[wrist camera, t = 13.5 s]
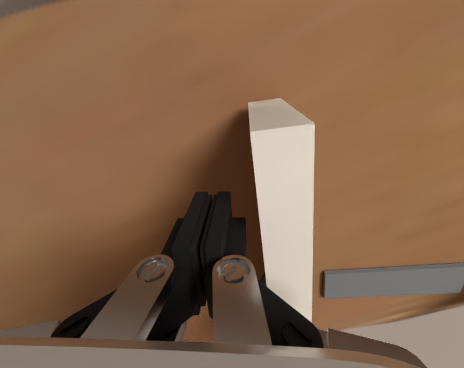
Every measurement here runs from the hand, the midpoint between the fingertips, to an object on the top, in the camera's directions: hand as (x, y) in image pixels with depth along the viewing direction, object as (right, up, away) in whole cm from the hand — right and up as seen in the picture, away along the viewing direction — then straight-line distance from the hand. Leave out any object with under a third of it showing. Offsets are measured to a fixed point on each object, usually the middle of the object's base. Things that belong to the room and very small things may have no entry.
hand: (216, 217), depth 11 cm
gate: (+4, +1, +4) cm, 6 cm away
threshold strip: (+14, -6, +8) cm, 18 cm away
